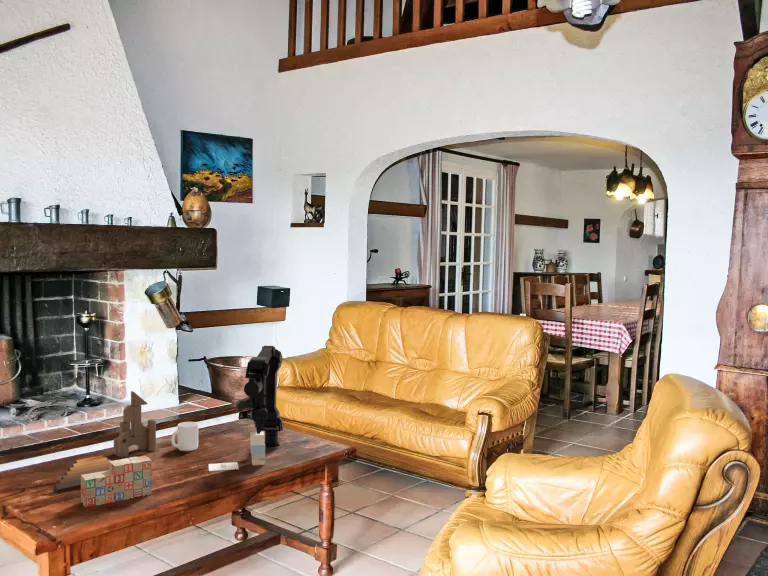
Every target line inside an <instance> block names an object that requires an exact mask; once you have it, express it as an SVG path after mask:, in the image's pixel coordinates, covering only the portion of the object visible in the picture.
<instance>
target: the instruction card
mask: <svg viewBox="0 0 768 576" xmlns="http://www.w3.org/2000/svg"><path fill="white" fill-rule="evenodd" d="M235 469H236V470H239V469H240V468H239V463H238V461H236V462H233V461H232V462H221V463H219V462H218V463H208V472H216V471H219V472H220V471H232V470H233V471H234V470H235Z"/></svg>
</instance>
